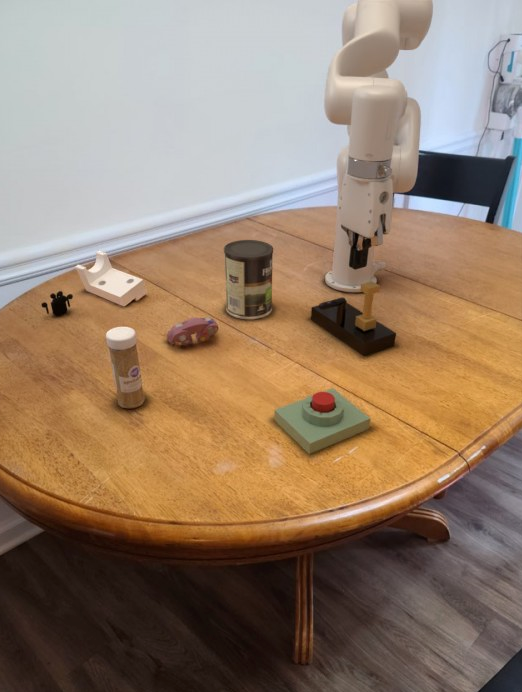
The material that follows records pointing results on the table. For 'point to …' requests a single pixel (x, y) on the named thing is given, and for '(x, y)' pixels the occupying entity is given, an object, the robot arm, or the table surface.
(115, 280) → the bracket
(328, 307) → the tap base
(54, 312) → the wireless earbuds
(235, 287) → the coffee can
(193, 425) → the table surface
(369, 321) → the tap handle
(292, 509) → the table surface
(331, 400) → the button
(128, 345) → the sprinkles bottle
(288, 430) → the block
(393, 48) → the robot arm
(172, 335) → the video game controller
